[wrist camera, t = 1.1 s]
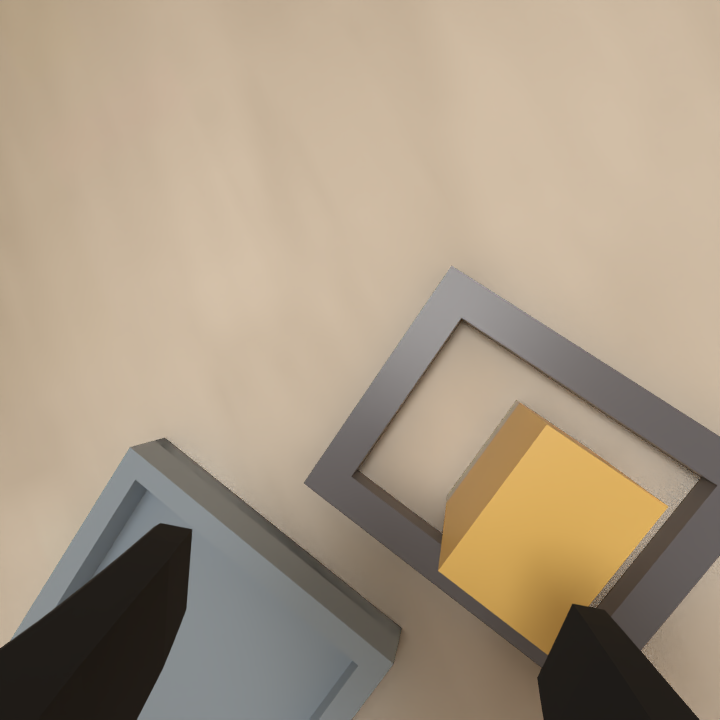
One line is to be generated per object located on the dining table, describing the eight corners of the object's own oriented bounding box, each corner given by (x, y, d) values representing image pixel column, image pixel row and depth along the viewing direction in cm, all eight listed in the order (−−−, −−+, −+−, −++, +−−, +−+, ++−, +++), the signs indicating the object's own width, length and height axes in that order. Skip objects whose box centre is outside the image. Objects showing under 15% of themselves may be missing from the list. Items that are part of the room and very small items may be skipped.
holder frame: (764, 470, 18) (784, 477, 17) (585, 686, 20) (593, 707, 19) (452, 270, 21) (451, 265, 20) (312, 476, 22) (303, 482, 21)
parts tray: (401, 628, 21) (393, 663, 19) (222, 868, 23) (194, 928, 21) (164, 438, 24) (129, 447, 21) (19, 668, 25) (-28, 702, 23)
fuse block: (591, 450, 20) (668, 506, 12) (517, 546, 20) (548, 655, 13) (516, 399, 20) (546, 424, 13) (447, 495, 21) (438, 570, 13)
